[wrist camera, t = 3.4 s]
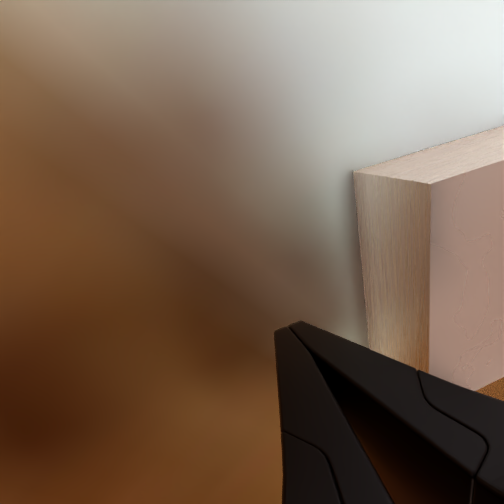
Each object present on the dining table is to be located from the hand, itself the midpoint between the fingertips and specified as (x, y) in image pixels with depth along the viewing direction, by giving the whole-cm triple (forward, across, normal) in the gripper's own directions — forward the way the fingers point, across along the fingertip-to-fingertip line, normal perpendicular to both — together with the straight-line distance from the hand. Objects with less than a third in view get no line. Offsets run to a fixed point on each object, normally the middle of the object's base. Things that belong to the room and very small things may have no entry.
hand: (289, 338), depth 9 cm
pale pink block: (+2, -9, 0) cm, 9 cm away
